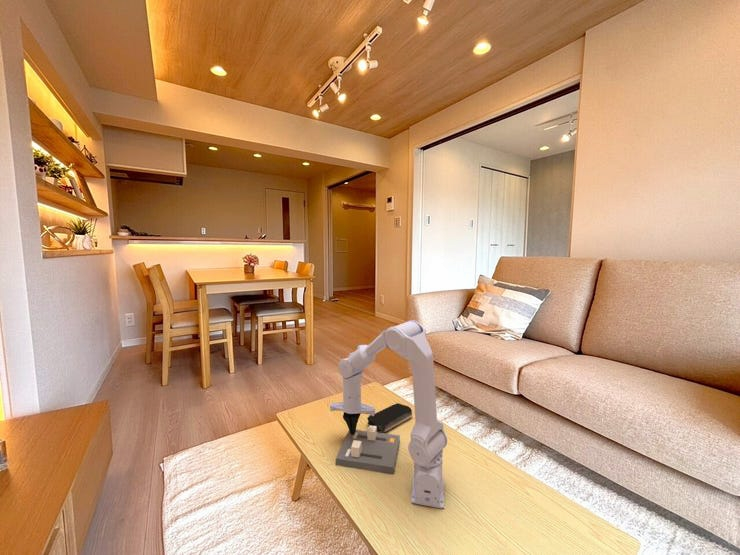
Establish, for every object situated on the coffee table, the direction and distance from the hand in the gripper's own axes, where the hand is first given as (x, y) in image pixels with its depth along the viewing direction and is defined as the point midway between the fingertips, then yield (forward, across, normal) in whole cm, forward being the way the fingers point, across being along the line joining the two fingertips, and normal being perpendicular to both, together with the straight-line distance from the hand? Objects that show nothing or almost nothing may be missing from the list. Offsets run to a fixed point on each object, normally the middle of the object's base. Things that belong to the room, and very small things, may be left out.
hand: (353, 432), depth 96 cm
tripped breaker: (+1, -6, 0) cm, 6 cm away
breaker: (+1, -3, +8) cm, 9 cm away
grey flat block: (+3, -6, +4) cm, 8 cm away
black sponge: (+3, -10, -13) cm, 17 cm away
